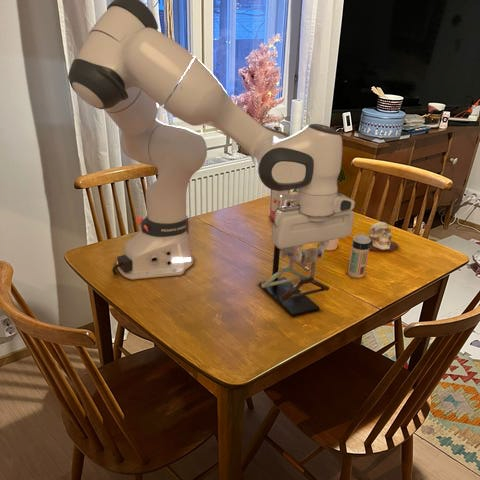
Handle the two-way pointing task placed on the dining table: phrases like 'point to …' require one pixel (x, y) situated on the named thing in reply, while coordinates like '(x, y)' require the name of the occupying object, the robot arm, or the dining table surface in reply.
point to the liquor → (275, 202)
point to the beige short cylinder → (332, 244)
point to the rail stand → (292, 305)
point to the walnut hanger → (310, 258)
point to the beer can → (359, 255)
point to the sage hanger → (284, 269)
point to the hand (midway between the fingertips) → (309, 258)
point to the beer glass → (287, 200)
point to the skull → (381, 237)
